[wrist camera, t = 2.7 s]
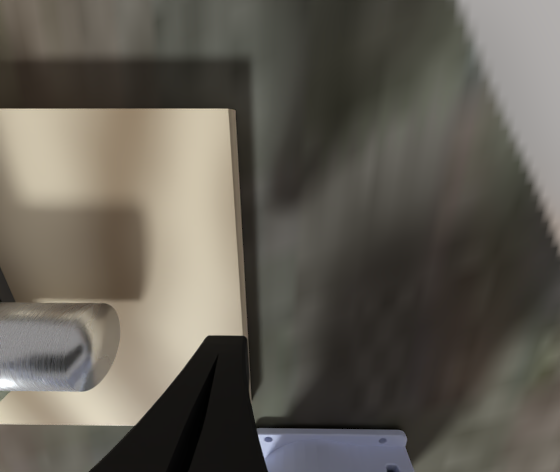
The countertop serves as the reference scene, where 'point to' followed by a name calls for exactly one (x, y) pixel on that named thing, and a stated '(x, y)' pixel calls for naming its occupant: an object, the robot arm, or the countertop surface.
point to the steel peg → (56, 345)
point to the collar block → (3, 294)
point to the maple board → (123, 242)
